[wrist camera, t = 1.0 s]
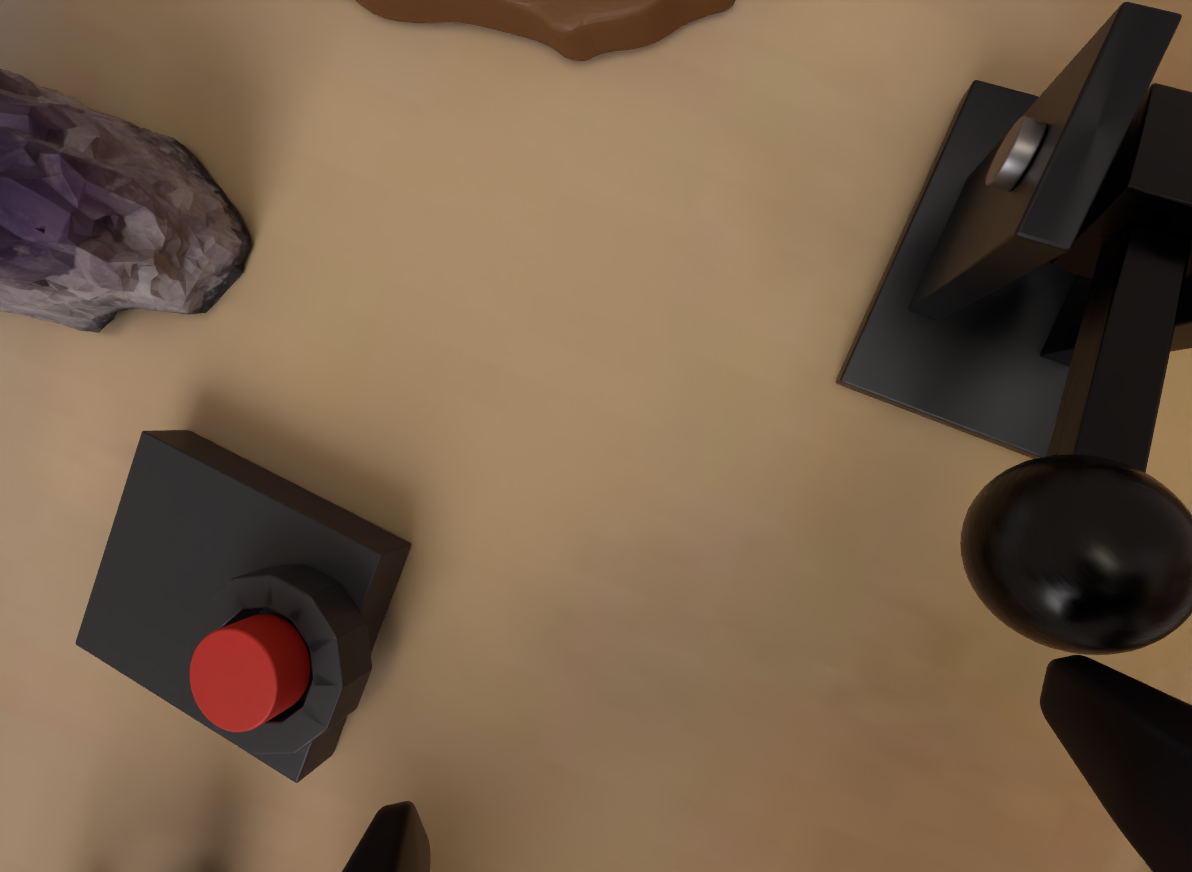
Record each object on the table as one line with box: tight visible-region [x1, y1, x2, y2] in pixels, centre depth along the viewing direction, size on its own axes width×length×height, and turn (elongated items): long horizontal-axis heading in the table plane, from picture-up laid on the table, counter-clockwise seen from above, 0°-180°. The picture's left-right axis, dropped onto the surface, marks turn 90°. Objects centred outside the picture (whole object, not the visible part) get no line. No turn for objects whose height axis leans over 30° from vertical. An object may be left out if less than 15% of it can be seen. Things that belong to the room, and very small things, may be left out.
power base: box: [76, 430, 411, 783], centre depth 26 cm, size 13×10×4 cm
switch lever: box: [960, 83, 1192, 655], centre depth 12 cm, size 11×3×3 cm, turn 157°
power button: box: [190, 614, 311, 732], centre depth 23 cm, size 4×4×2 cm
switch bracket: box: [836, 2, 1192, 459], centre depth 16 cm, size 10×7×10 cm
